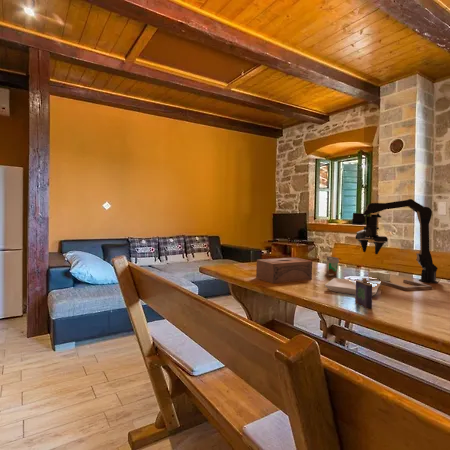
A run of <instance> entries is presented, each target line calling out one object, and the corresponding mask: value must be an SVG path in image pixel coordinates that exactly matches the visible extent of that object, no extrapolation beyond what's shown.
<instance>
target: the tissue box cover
mask: <svg viewBox="0 0 450 450" xmlns="http://www.w3.org/2000/svg"><path fill="white" fill-rule="evenodd" d="M255 273H256V276H255V278H256V279H259V280H261V281H265V282H267V283H270V284H280V283H289V282H298V281H308V280H312V279H313V260H309V259H304V258H299V257H282V258H265V259H256V272H255Z"/></svg>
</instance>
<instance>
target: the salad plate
mask: <svg viewBox="0 0 450 450" xmlns="http://www.w3.org/2000/svg"><path fill="white" fill-rule="evenodd" d="M349 280H350V279H346V278H337V277H333V278H332V279H331V280H329V281H328V282H327V283H325V284H324V286H325V288H326V289H328V290H329V291H333V292H335V293H342V294H347V295H348V294H349V295H353V296H354V295H355V294H356V285H353V284H351V283H350V282H349ZM353 280H354V281H356V279H353ZM375 283H376V282H375ZM376 284H377V286H375V287H372V296H374V295H376V293H377V292H378V289H379V287H380V286H381V284H380V282H379V283H378V282H377V283H376Z"/></svg>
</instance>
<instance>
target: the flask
mask: <svg viewBox="0 0 450 450" xmlns="http://www.w3.org/2000/svg"><path fill="white" fill-rule="evenodd" d="M361 279H362V280H359V279H358V280H356V279H355V280H356V294H355V296H354V297H355V298H354V303H355V304H357V305H359V306H361V307H363V308H365V309H368V310H372V309H373V295H372V284H370V283H367V282H369V281H368V279H369V277H362V278H361Z"/></svg>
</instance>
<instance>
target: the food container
mask: <svg viewBox="0 0 450 450" xmlns="http://www.w3.org/2000/svg"><path fill="white" fill-rule="evenodd" d="M339 263H340V260H339V257H334V256H326V273H325V274H326V275H327V277H328V278H337V274H338V266H339Z"/></svg>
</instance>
